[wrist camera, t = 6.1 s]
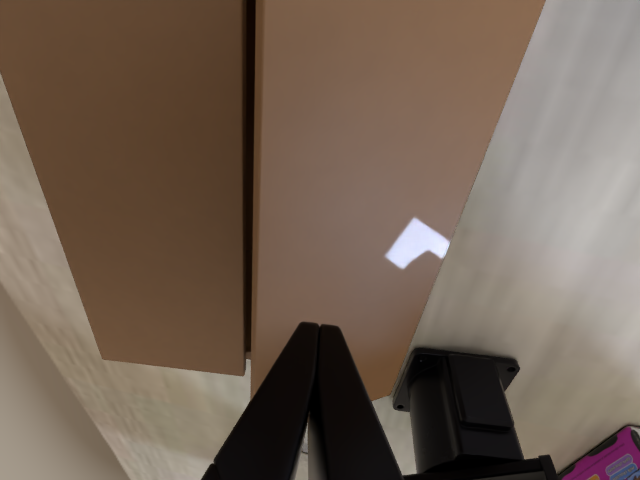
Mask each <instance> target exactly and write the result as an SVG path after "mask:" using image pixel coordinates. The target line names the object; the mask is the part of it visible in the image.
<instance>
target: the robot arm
mask: <svg viewBox="0 0 640 480" xmlns="http://www.w3.org/2000/svg"><path fill="white" fill-rule="evenodd" d="M519 370H520V367H519V364H518V362H517V361H516V360H515V359H509V358H501V357H493V356H485V355H477V354H468V353H460V352H452V351H444V350H436V349H428V348H417V349H415V350H414V351H413V352H412V354H411V357H410V359H409V362H408V364H407V367H406V369H405V372H404V374H403V377H402V379H401V381H400V384H399V386H398V389H397V391H396V394H395V396H394V399H393V408H394V409H395V410H398V411H406V412H410V417H411V426H412V435H413V444H414V453H415V461H416V470H417V474H411V475H403V476H402V473H401V471H400V468H399V466H398V464H397V461H396V459H395V457H394V454H393V452H392V449H391V447H390V445H389V442H388V440H387V438H386V435H385V433H384V430H383V428H382V426H381V423H380V421H379V419H378V416H377V414H376V411H375V409H374V407H373V404H372V402H371V400H370V397H369V395H368V392H367V390H366V388H365V385H364V383H363V381H362V378H361V376H360V373H359V371H358V369H357V366H356V364H355V362H354V359H353V357H352V354H351V352H350V350H349V347H348V345H347V343H346V340H345V338H344V335H343V333H342V331H341V329H340V327H339V326H337V325H330V324H321V325H320V327H319V324H318V323H314V322H306V321H302V322H300V323H299V324H298V326H297V328H296V329H295V331H294V332H293V334H292V336H291V337H290V339H289V340H288V342H287V344H286V345H285V347H284V348H283V350H282V352H281V353H280V355H279V356H278V358H277V360H276V361H275V363H274V364H273V366H272V368H271V369H270V371H269V372H268V374H267V375H266V377H265V379H264V380H263V382H262V383H261V385H260V387H259V388H258V390H257V391H256V393H255V395H254V396H253V398H252V399H251V401H250V403H249V404H248V406H247V407H246V409H245V411H244V412H243V414H242V415H241V417H240V419H239V420H238V422H237V423H236V425H235V427H234V428H233V430H232V431H231V433H230V435H229V436H228V438H227V439H226V441H225V442H224V444H223V446H222V447H221V449H220V450H219V452H218V454H217V455H216V457H215V458H214V464H211V465H210V466H209V468H208V469H207V471H206V472H205V474H204V476H203V477H202V479H201V480H295V477H296V473H297V468H298V464H299V460H300V455H301V451H302V446H303V442H304V438H305V433H306V428H307V422H308V480H559V478H558V476H557V473H556V470H555V468H554V465H553V462H552V460H551V457H550V455H541V456H538V457H539V458H534V459H526V460H525V459H524V456H523V453H522V450H521V447H520V443H519V440H518V437H517V434H516V431H515V428H514V421H513V417H512V414H511V411H510V408H509V405H508V402H507V399H506V395H505V390H506V389H507V387H508V386H509V385H510V383H511V382H512V380H513V379H514V377H515V376H516V375H517V373H518V372H519Z"/></svg>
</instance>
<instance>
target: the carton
mask: <svg viewBox="0 0 640 480" xmlns="http://www.w3.org/2000/svg"><path fill="white" fill-rule="evenodd" d="M255 36H256V0H0V72H1V75H2V78H3V81H4V84H5V86H6V89H7V92H8V95H9V98H10V101H11V103H12V106H13V109H14V112H15V115H16V117H17V120H18V123H19V126H20V129H21V132H22V134H23V137H24V140H25V143H26V146H27V148H28V151H29V154H30V157H31V160H32V162H33V165H34V168H35V171H36V174H37V177H38V179H39V182H40V185H41V188H42V191H43V193H44V196H45V199H46V202H47V205H48V208H49V210H50V213H51V216H52V219H53V222H54V224H55V227H56V230H57V233H58V236H59V238H60V241H61V244H62V247H63V250H64V253H65V255H66V258H67V261H68V264H69V267H70V269H71V272H72V275H73V278H74V281H75V284H76V286H77V289H78V292H79V295H80V298H81V300H82V303H83V306H84V309H85V312H86V315H87V317H88V320H89V323H90V326H91V329H92V331H93V334H94V337H95V340H96V343H97V345H98V348H99V351H100V354H101V357H102V359H104V360H112V361H120V362H129V363H137V364H145V365H154V366H162V367H170V368H178V369H187V370H195V371H203V372H211V373H220V374H228V375H236V376H244V374H245V370H246V359H250V360H251V326H252V254H253V181H254V108H255Z"/></svg>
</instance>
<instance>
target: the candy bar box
mask: <svg viewBox="0 0 640 480" xmlns="http://www.w3.org/2000/svg"><path fill="white" fill-rule="evenodd" d="M558 478H559V480H640V428H639V427H633V426H628V427H625V428H624V429H622V430H621V431H619V432H618V433H617V434H615V435H614V436H612V437H611V438H610V439H608V440H607V441H605V442H604V443H603V444H601V445H600V446H599V447H597V448H596V449H594V450H593V451H592V452H590V453H589V454H587V455H586V456H585V457H583V458H582V459H581V460H579V461H578V462H576V463H575V464H574V465H572V466H571V467H570V468H568V469H567V470H566V471H564V472H563V473H561V474H560V475H559V476H558Z"/></svg>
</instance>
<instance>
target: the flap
mask: <svg viewBox="0 0 640 480" xmlns="http://www.w3.org/2000/svg"><path fill="white" fill-rule="evenodd" d="M545 1H546V0H256V36H255V108H254V181H253V254H252V326H251V399H252V398H253V396H254V395H255V393H256V391H257V390H258V388H259V387H260V385H261V383H262V382H263V380H264V379H265V377H266V375H267V374H268V372H269V371H270V369H271V368H272V366H273V364H274V363H275V361H276V360H277V358H278V356H279V355H280V353H281V352H282V350H283V348H284V347H285V345H286V344H287V342H288V340H289V339H290V337H291V336H292V334H293V332H294V331H295V329H296V328H297V326H298V324H299V323H300V322H302V321H306V322H314V323H318V324H319V327H320V325H321V324H330V325H337V326H339V327H340V329H341V331H342V333H343V335H344V338H345V340H346V343H347V345H348V347H349V350H350V352H351V354H352V357H353V359H354V362H355V364H356V366H357V369H358V371H359V373H360V376H361V378H362V381H363V383H364V385H365V388H366V390H367V392H368V395H369V397H370V400H371V401H373V400H376V399H379V398H382V397H385V396H388V395H390V394H391V392H392V389H393V387H394V384H395V382H396V379H397V376H398V374H399V371H400V369H401V366H402V364H403V361H404V359H405V356H406V354H407V351H408V349H409V346H410V343H411V341H412V338H413V336H414V333H415V331H416V328H417V326H418V323H419V321H420V318H421V316H422V313H423V311H424V308H425V305H426V303H427V300H428V298H429V295H430V293H431V290H432V288H433V285H434V283H435V280H436V278H437V275H438V272H439V270H440V267H441V265H442V262H443V260H444V257H445V255H446V252H447V250H448V247H449V245H450V242H451V239H452V237H453V234H454V232H455V229H456V227H457V224H458V222H459V219H460V217H461V214H462V212H463V209H464V206H465V204H466V201H467V199H468V196H469V194H470V191H471V189H472V186H473V184H474V181H475V179H476V176H477V173H478V171H479V168H480V166H481V163H482V161H483V158H484V156H485V153H486V151H487V148H488V146H489V143H490V140H491V138H492V135H493V133H494V130H495V128H496V125H497V123H498V120H499V118H500V115H501V113H502V110H503V108H504V105H505V102H506V100H507V97H508V95H509V92H510V90H511V87H512V85H513V82H514V80H515V77H516V75H517V72H518V69H519V67H520V64H521V62H522V59H523V57H524V54H525V52H526V49H527V47H528V44H529V42H530V39H531V36H532V34H533V31H534V29H535V26H536V24H537V21H538V19H539V16H540V14H541V11H542V9H543V6H544V3H545ZM251 399H250V401H251Z"/></svg>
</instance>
